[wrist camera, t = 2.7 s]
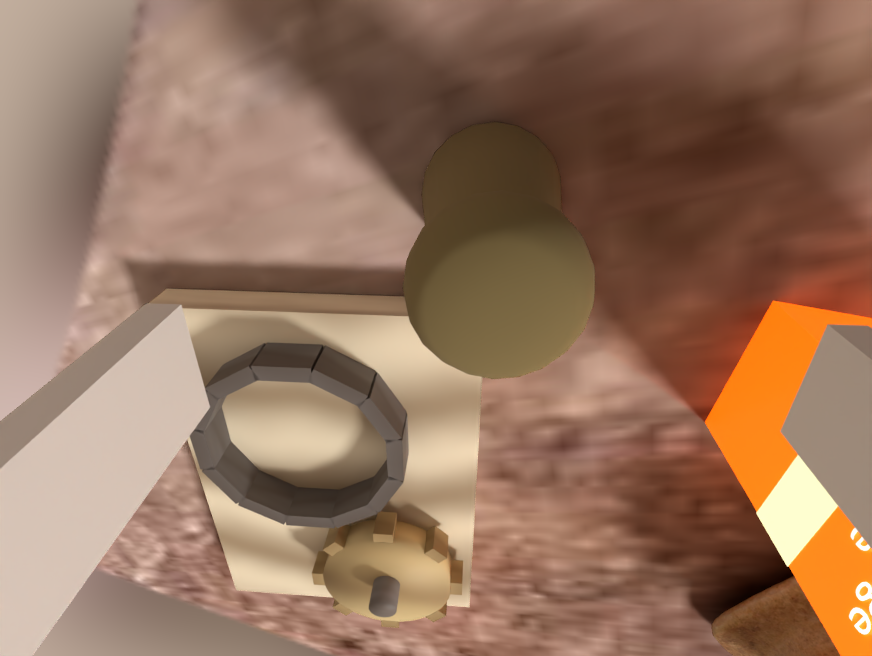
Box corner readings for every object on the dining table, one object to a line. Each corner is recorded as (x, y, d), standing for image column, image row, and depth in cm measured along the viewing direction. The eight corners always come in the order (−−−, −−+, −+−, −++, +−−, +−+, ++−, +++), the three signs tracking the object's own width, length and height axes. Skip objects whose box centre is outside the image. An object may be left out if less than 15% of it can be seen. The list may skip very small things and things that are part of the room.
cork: (421, 258, 24) (383, 407, 14) (421, 120, 21) (371, 192, 11) (552, 263, 23) (602, 419, 14) (571, 123, 20) (651, 200, 11)
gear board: (167, 288, 26) (95, 346, 21) (484, 299, 24) (486, 362, 20) (247, 564, 36) (213, 643, 32) (469, 579, 35) (468, 663, 31)
